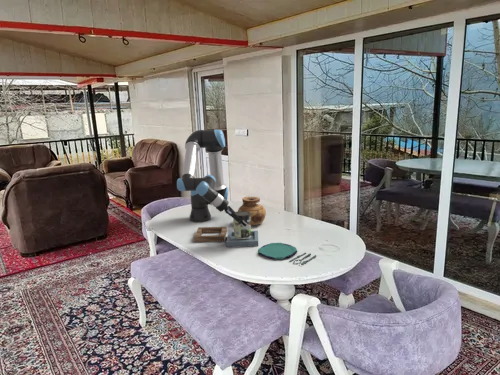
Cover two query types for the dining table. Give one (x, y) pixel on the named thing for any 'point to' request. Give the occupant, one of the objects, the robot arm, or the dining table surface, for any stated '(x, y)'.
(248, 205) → the clay pot
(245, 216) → the coffee can
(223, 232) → the wooden square frame
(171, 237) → the dining table surface
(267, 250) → the cutlery set
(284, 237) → the dining table surface
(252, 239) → the tray
